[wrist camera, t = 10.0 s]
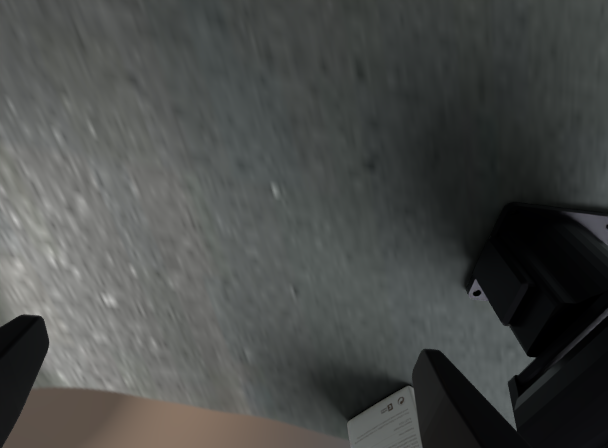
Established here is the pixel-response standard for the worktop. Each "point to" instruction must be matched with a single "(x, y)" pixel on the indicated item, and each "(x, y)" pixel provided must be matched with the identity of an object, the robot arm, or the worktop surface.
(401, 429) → the skincare box
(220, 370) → the worktop surface
